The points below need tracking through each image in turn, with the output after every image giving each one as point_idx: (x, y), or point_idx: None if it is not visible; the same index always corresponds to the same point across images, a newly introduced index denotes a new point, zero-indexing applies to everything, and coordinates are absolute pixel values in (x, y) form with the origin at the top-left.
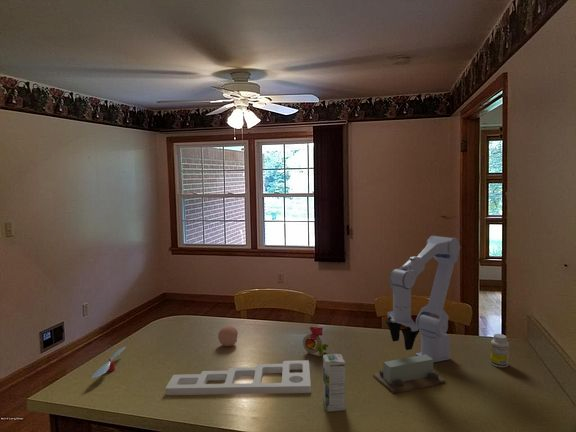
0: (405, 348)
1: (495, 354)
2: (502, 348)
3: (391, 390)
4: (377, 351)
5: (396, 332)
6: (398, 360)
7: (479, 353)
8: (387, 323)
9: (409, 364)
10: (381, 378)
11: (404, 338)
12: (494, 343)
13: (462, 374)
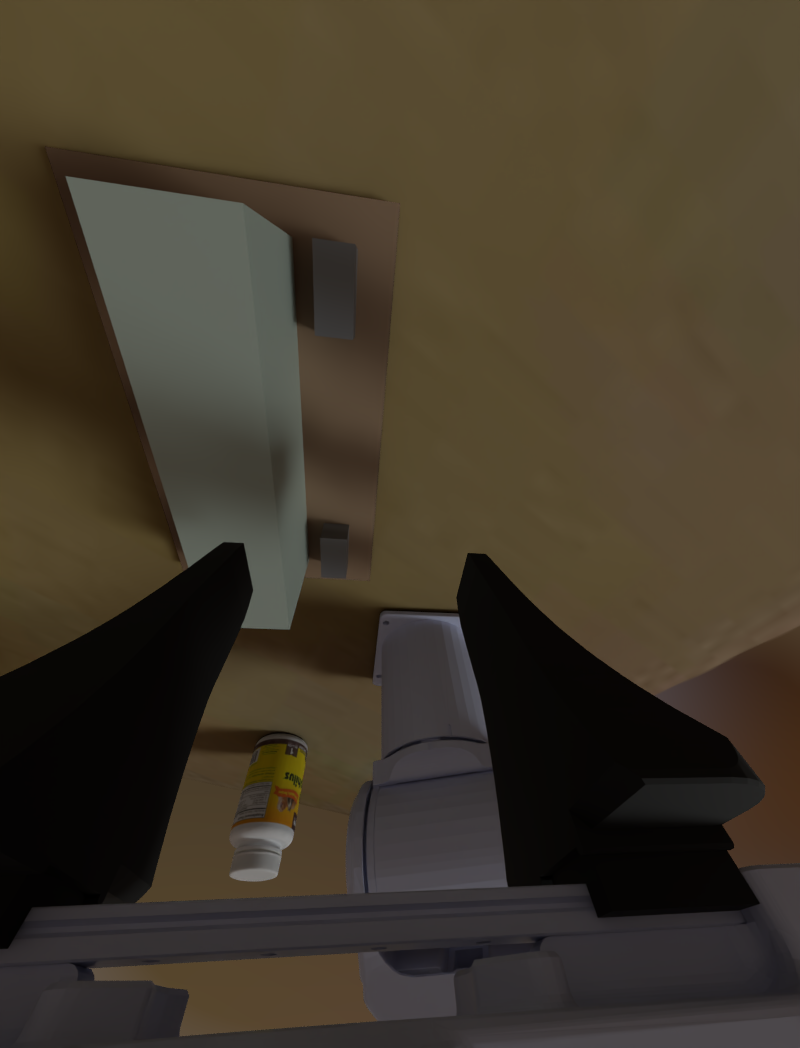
0: (240, 546)
1: (260, 780)
2: (235, 820)
3: (82, 155)
4: (645, 492)
5: (487, 657)
6: (242, 410)
7: (370, 744)
8: (662, 732)
9: (156, 454)
10: (297, 218)
11: (145, 632)
12: (253, 831)
13: (248, 647)
